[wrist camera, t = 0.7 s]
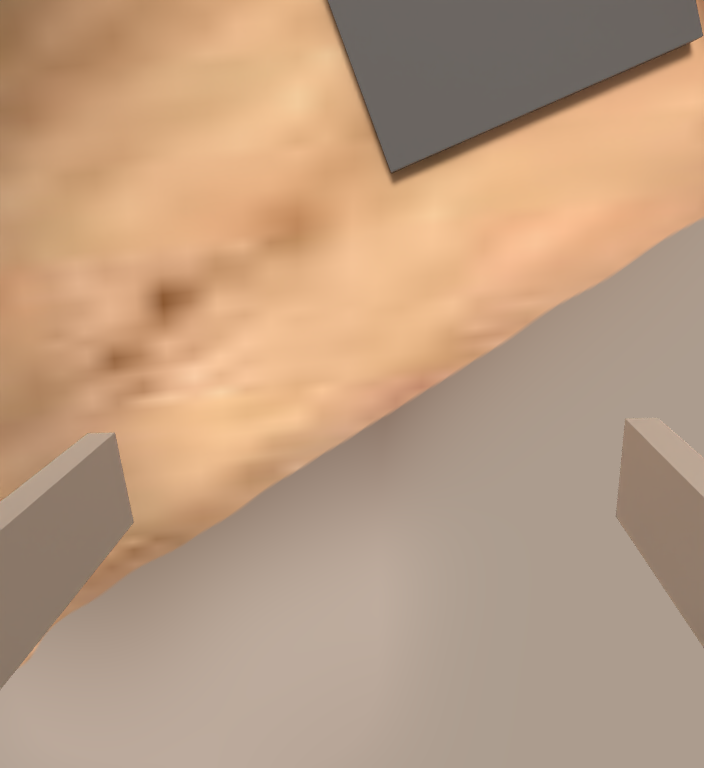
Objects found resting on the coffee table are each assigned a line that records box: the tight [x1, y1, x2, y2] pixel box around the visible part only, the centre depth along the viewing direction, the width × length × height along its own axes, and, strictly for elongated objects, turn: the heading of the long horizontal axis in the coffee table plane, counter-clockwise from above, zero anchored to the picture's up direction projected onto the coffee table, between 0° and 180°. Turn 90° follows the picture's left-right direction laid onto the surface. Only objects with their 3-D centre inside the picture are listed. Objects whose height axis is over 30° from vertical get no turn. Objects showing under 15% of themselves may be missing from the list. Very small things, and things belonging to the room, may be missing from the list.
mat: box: [328, 0, 703, 173], centre depth 34 cm, size 12×19×2 cm, turn 112°
